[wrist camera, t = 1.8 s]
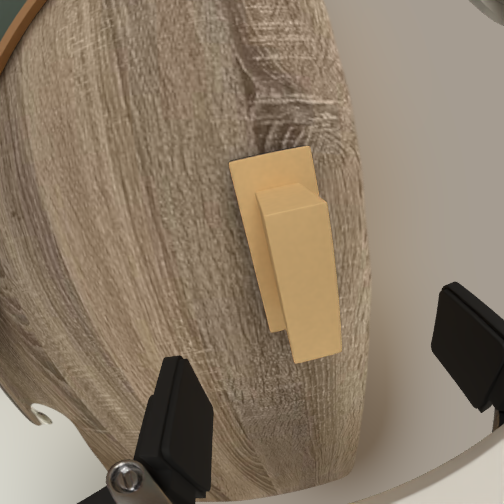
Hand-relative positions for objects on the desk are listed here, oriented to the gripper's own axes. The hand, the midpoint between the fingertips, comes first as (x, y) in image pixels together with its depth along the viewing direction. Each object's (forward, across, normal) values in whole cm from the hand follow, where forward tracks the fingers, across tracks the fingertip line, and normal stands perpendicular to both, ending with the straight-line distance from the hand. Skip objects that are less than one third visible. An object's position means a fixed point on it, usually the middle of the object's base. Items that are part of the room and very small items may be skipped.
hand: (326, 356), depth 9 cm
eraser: (+11, 0, 0) cm, 11 cm away
